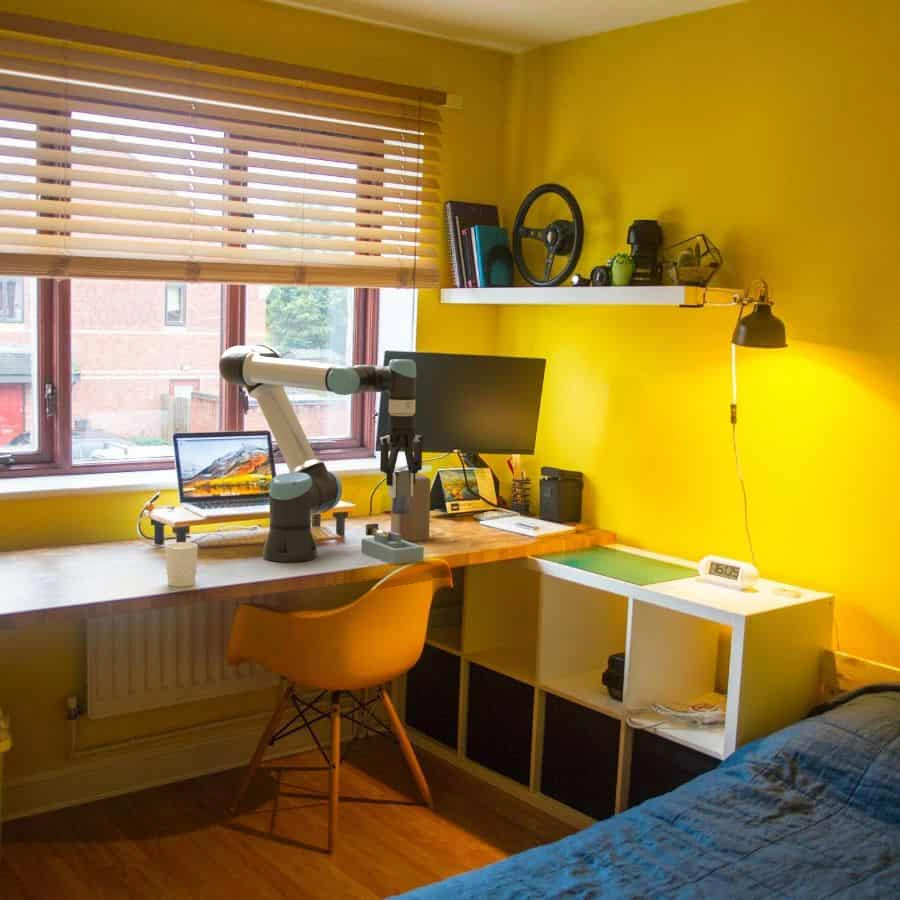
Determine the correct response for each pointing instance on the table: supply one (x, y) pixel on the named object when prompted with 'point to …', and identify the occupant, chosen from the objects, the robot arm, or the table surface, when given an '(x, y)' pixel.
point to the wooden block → (415, 513)
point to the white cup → (181, 563)
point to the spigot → (401, 492)
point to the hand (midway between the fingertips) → (400, 496)
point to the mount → (392, 549)
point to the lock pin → (375, 530)
